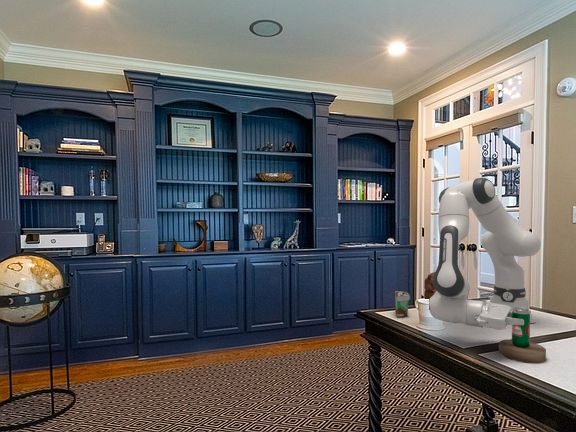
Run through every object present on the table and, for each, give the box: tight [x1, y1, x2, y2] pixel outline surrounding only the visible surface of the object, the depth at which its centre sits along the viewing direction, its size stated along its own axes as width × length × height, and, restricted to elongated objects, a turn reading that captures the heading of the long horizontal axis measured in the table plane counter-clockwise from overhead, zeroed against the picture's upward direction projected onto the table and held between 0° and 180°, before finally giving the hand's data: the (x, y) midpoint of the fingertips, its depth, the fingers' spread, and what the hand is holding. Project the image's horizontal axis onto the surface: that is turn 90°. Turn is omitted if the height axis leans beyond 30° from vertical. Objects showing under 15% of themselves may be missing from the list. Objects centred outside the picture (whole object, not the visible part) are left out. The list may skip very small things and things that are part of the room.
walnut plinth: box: [498, 338, 547, 364], centre depth 122 cm, size 13×13×3 cm
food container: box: [394, 290, 411, 319], centre depth 170 cm, size 12×6×10 cm, turn 168°
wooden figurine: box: [423, 271, 436, 299], centre depth 180 cm, size 12×6×18 cm, turn 77°
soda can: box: [511, 307, 531, 348], centre depth 122 cm, size 5×5×12 cm
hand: (524, 319), depth 121 cm, fingers closed on soda can, 5 cm apart
